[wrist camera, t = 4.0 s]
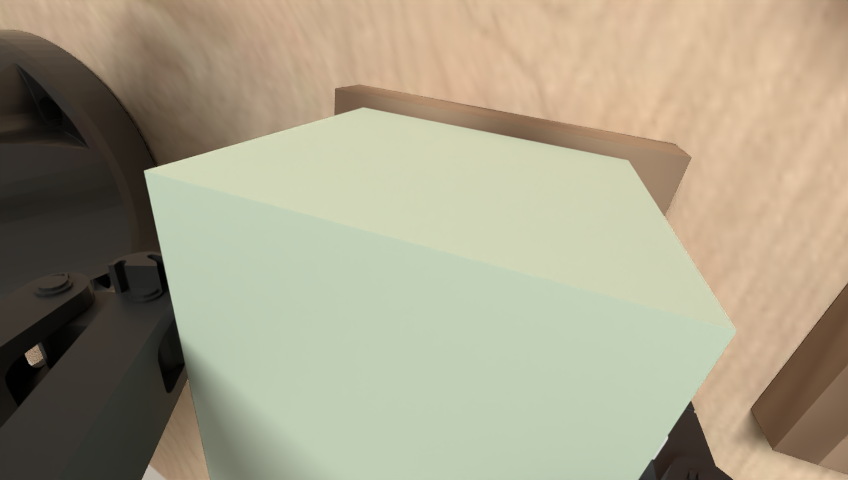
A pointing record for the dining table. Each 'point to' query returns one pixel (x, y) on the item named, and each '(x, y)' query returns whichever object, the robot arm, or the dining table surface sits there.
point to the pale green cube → (428, 305)
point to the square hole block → (812, 395)
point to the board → (534, 134)
